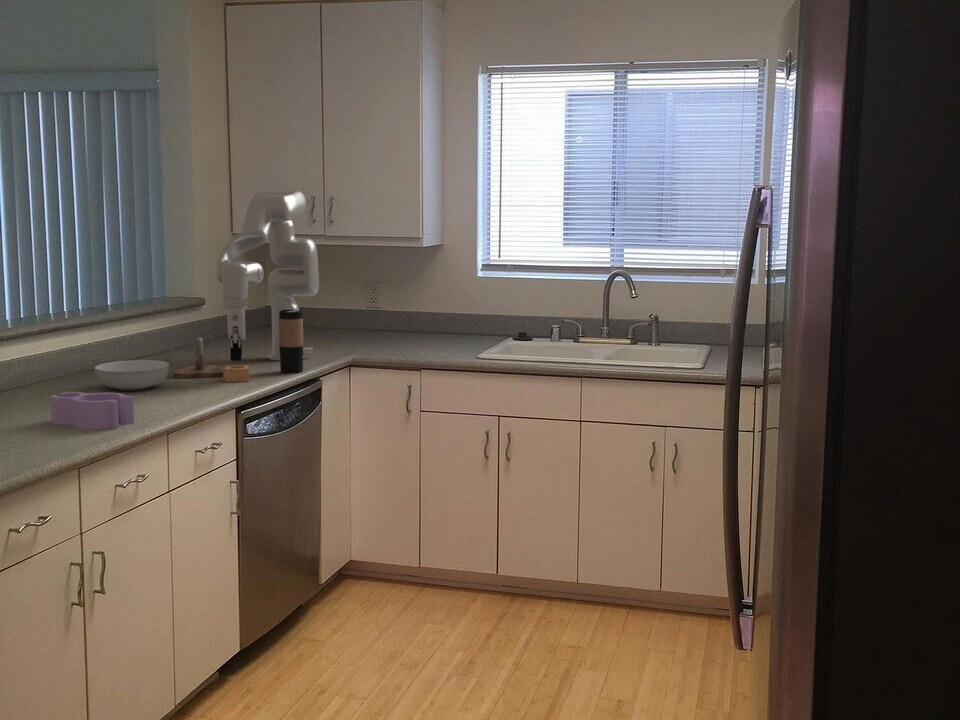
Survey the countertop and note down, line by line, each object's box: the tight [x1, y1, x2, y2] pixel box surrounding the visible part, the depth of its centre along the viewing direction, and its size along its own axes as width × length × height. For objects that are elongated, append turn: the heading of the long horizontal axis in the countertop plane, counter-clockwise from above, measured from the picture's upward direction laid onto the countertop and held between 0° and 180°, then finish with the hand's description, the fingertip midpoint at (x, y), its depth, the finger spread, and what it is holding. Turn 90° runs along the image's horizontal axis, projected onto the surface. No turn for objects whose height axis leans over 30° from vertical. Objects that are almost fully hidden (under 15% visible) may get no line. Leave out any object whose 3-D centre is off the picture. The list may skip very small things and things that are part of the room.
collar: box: [224, 364, 250, 383], centre depth 326 cm, size 7×7×4 cm
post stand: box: [173, 337, 226, 379], centre depth 335 cm, size 15×15×12 cm
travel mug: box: [279, 309, 304, 374], centre depth 341 cm, size 8×8×20 cm
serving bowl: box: [94, 359, 170, 391], centre depth 311 cm, size 21×21×7 cm
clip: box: [50, 391, 135, 430], centre depth 262 cm, size 20×12×7 cm, turn 74°
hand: (236, 358), depth 324 cm, fingers open, 9 cm apart
